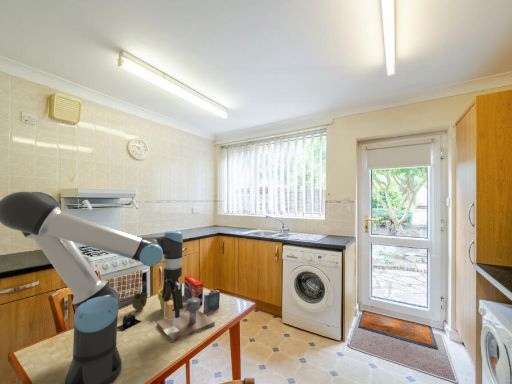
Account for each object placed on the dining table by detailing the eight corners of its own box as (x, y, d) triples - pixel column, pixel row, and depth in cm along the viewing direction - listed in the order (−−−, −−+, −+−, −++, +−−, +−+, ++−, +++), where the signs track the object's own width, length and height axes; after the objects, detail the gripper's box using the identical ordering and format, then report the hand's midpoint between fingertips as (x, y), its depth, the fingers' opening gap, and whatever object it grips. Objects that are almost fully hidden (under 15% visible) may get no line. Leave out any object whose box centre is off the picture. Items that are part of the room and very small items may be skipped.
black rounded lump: (136, 317, 113) (136, 308, 113) (146, 321, 109) (146, 312, 109) (110, 330, 102) (110, 319, 102) (120, 335, 98) (120, 324, 98)
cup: (140, 315, 114) (140, 298, 115) (127, 313, 116) (128, 297, 116) (150, 308, 122) (150, 292, 122) (137, 306, 123) (138, 291, 123)
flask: (205, 313, 117) (205, 292, 118) (202, 311, 119) (202, 290, 120) (220, 307, 123) (220, 287, 124) (217, 306, 126) (217, 286, 126)
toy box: (202, 305, 126) (203, 283, 127) (195, 307, 124) (196, 285, 124) (190, 294, 141) (190, 274, 141) (183, 295, 138) (184, 276, 139)
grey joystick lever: (195, 305, 110) (196, 292, 110) (202, 309, 105) (202, 296, 106) (164, 315, 100) (164, 301, 100) (169, 320, 95) (170, 306, 95)
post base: (170, 343, 92) (171, 323, 93) (155, 325, 105) (156, 308, 105) (214, 325, 106) (214, 308, 107) (196, 311, 119) (197, 296, 119)
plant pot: (166, 316, 114) (166, 296, 114) (153, 310, 119) (153, 291, 120) (182, 308, 123) (183, 289, 123) (170, 303, 128) (170, 285, 128)
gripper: (155, 263, 105) (153, 313, 104) (174, 275, 89) (173, 334, 88) (171, 260, 110) (170, 308, 109) (192, 271, 94) (191, 327, 93)
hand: (171, 320), depth 99 cm, fingers open, 9 cm apart
